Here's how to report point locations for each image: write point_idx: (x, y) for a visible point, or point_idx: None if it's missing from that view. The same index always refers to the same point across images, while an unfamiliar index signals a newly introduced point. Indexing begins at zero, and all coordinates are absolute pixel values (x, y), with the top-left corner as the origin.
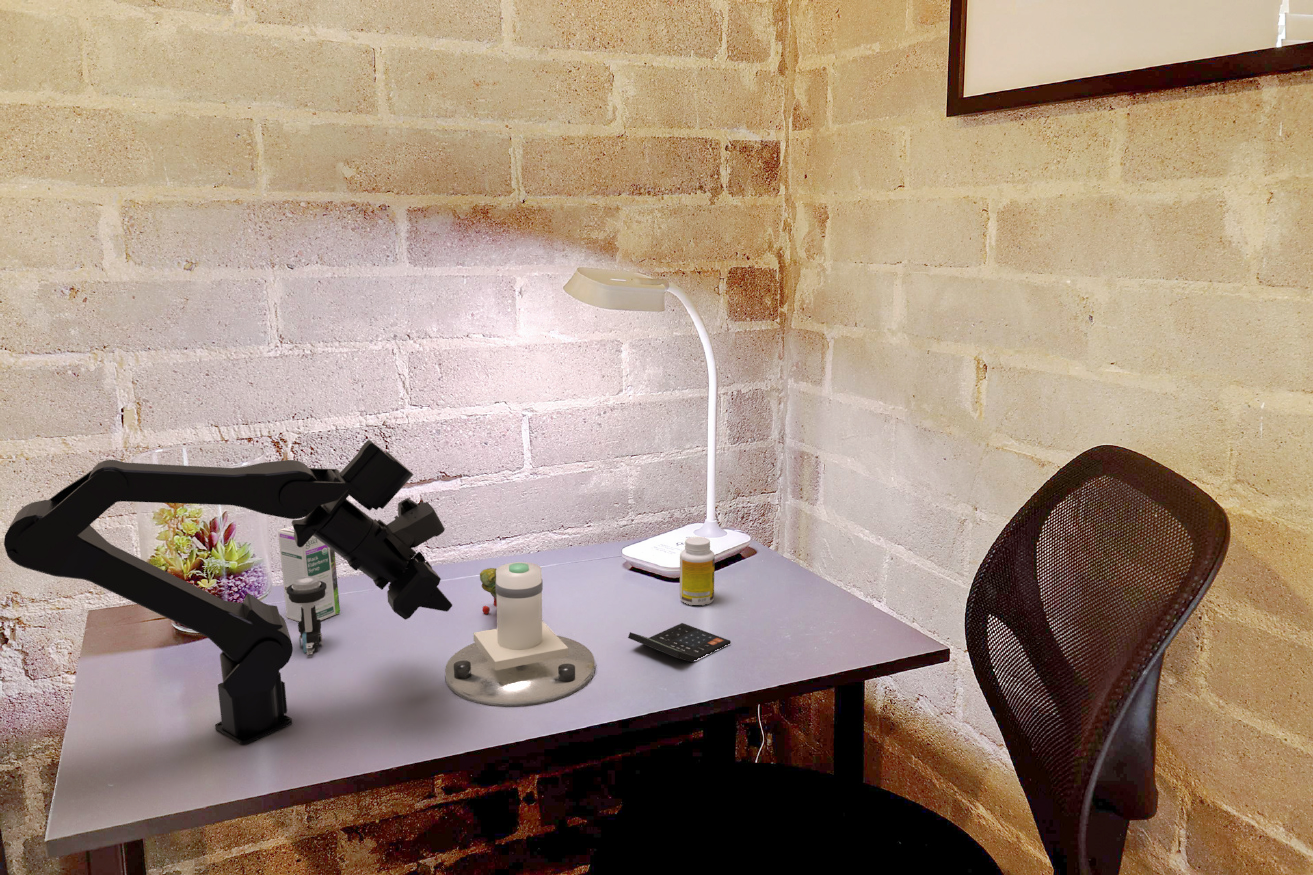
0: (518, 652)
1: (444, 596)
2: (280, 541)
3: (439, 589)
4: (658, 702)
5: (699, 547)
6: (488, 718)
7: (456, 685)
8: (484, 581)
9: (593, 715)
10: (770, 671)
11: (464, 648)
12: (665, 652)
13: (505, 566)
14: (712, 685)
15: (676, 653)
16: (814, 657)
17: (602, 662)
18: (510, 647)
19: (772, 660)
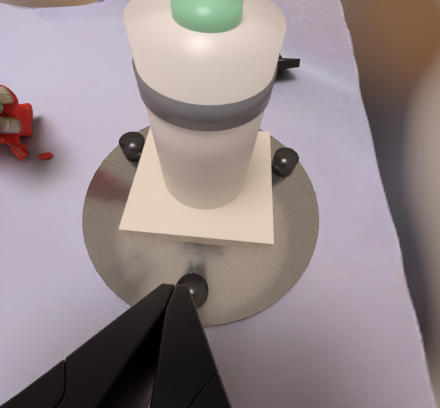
0: (252, 194)
1: (201, 326)
2: None
3: (131, 334)
4: (354, 121)
5: None
6: (332, 304)
7: (224, 319)
8: None
9: (364, 181)
10: (326, 38)
11: (90, 249)
12: (283, 68)
13: (146, 25)
14: (335, 75)
15: (297, 62)
16: (314, 12)
17: None
18: (233, 198)
19: (307, 29)
